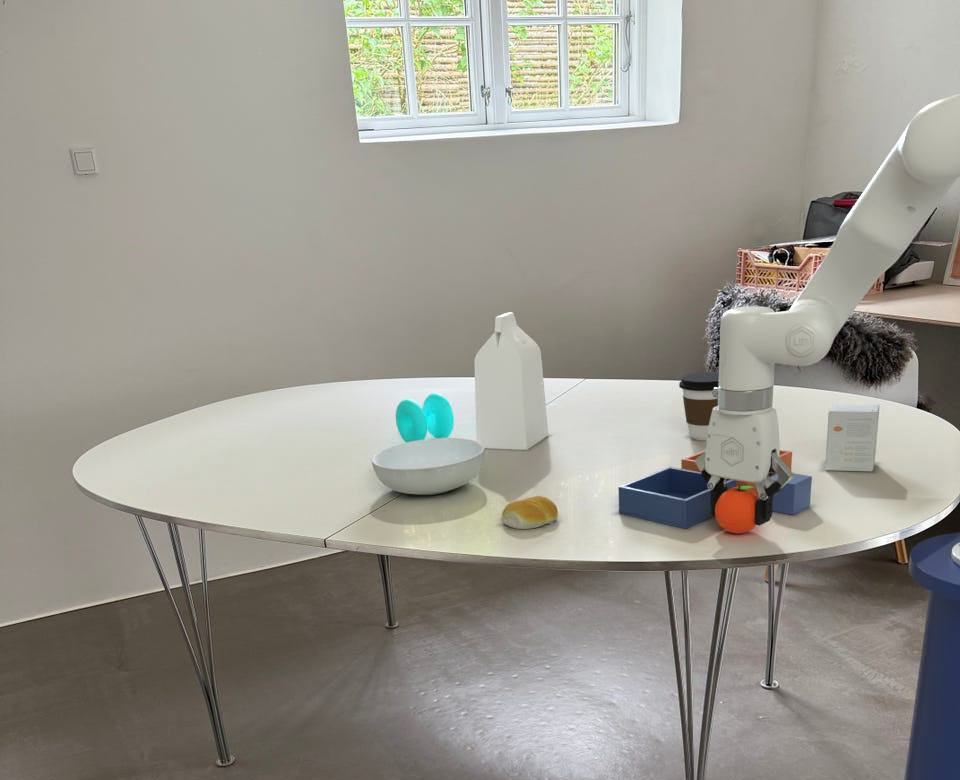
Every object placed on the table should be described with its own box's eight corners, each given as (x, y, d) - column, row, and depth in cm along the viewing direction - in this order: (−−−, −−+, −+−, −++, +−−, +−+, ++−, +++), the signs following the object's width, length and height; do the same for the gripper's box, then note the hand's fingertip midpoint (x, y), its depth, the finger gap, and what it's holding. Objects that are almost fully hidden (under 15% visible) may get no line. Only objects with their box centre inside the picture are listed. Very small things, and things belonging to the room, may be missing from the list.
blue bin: (736, 505, 154) (737, 478, 152) (685, 528, 146) (686, 500, 144) (669, 492, 163) (669, 466, 161) (618, 513, 156) (618, 486, 154)
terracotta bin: (790, 476, 165) (792, 451, 163) (746, 497, 157) (748, 470, 155) (725, 465, 174) (726, 441, 172) (681, 484, 167) (681, 459, 165)
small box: (875, 463, 168) (881, 403, 164) (872, 472, 164) (878, 411, 159) (827, 461, 171) (831, 403, 167) (823, 470, 167) (828, 410, 162)
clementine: (742, 519, 148) (744, 475, 145) (776, 530, 142) (779, 484, 139) (704, 532, 144) (705, 486, 141) (737, 543, 139) (739, 497, 136)
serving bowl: (412, 469, 190) (408, 435, 187) (506, 475, 180) (503, 439, 177) (354, 501, 174) (348, 464, 171) (453, 510, 164) (449, 471, 161)
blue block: (810, 506, 151) (812, 476, 148) (792, 515, 148) (794, 484, 146) (782, 501, 154) (783, 471, 152) (764, 509, 151) (766, 479, 149)
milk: (500, 433, 210) (491, 310, 199) (548, 435, 206) (542, 309, 194) (476, 447, 201) (466, 319, 189) (526, 449, 196) (518, 318, 185)
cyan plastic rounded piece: (458, 440, 208) (454, 394, 203) (419, 450, 203) (414, 403, 198) (434, 433, 215) (429, 389, 211) (396, 443, 210) (390, 397, 206)
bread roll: (567, 518, 155) (566, 495, 153) (527, 533, 150) (526, 509, 148) (532, 509, 161) (531, 486, 159) (493, 523, 156) (491, 500, 154)
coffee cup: (713, 427, 200) (715, 369, 195) (744, 437, 191) (746, 376, 185) (668, 435, 197) (668, 376, 192) (697, 446, 188) (698, 385, 182)
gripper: (679, 398, 139) (677, 514, 146) (785, 411, 127) (777, 536, 134) (709, 388, 143) (706, 501, 151) (815, 399, 131) (806, 522, 139)
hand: (740, 517), depth 142 cm, fingers closed on clementine, 7 cm apart
